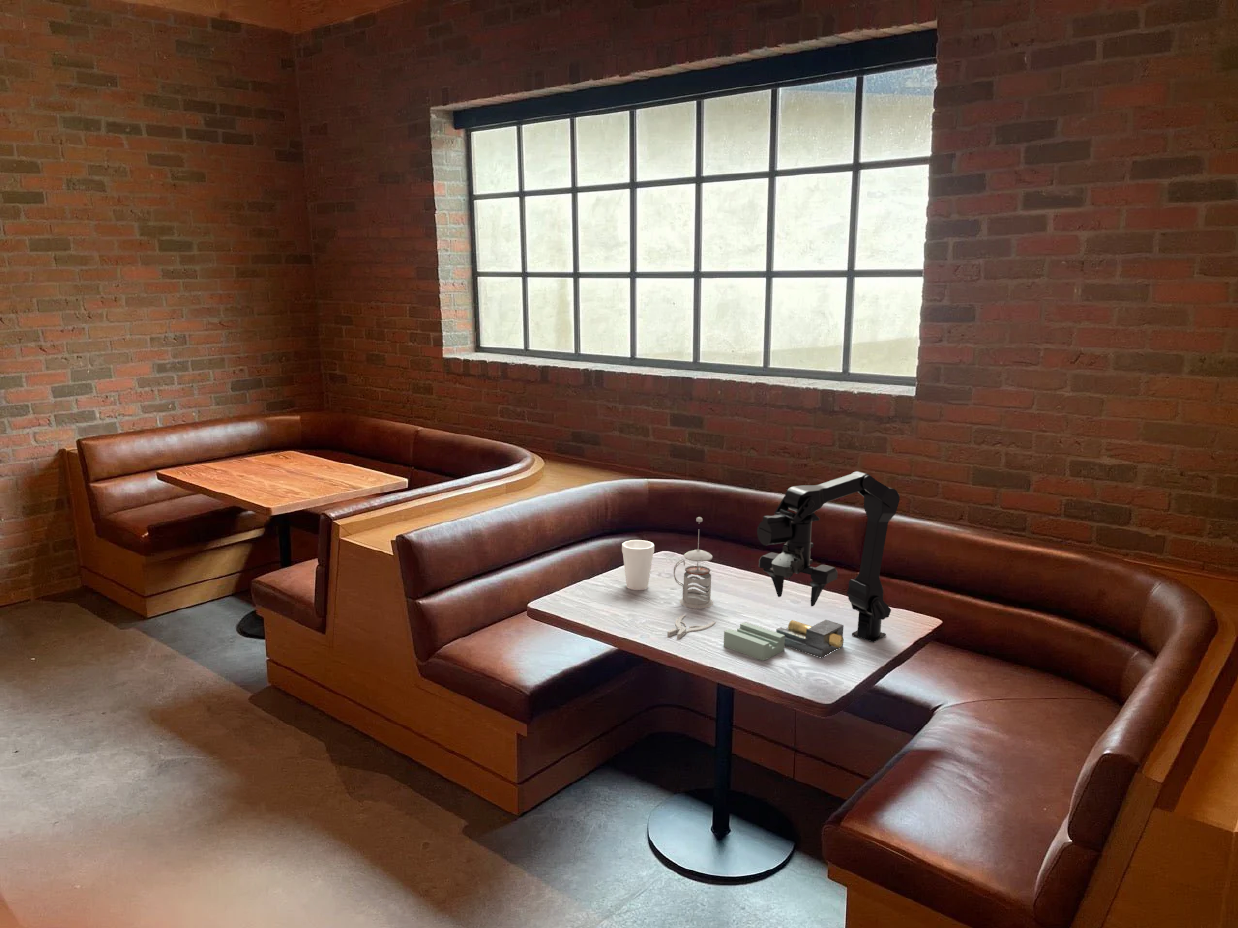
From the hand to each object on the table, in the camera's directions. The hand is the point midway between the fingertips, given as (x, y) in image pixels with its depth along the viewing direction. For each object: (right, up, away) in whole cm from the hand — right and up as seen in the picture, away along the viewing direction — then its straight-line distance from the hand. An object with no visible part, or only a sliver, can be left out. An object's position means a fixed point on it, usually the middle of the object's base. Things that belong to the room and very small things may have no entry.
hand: (795, 601), depth 212 cm
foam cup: (-38, -3, +48) cm, 61 cm away
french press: (-22, -6, +35) cm, 42 cm away
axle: (+6, -9, +5) cm, 12 cm away
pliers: (-25, -10, +17) cm, 32 cm away
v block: (-10, -12, +4) cm, 16 cm away
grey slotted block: (+5, -12, +7) cm, 15 cm away
